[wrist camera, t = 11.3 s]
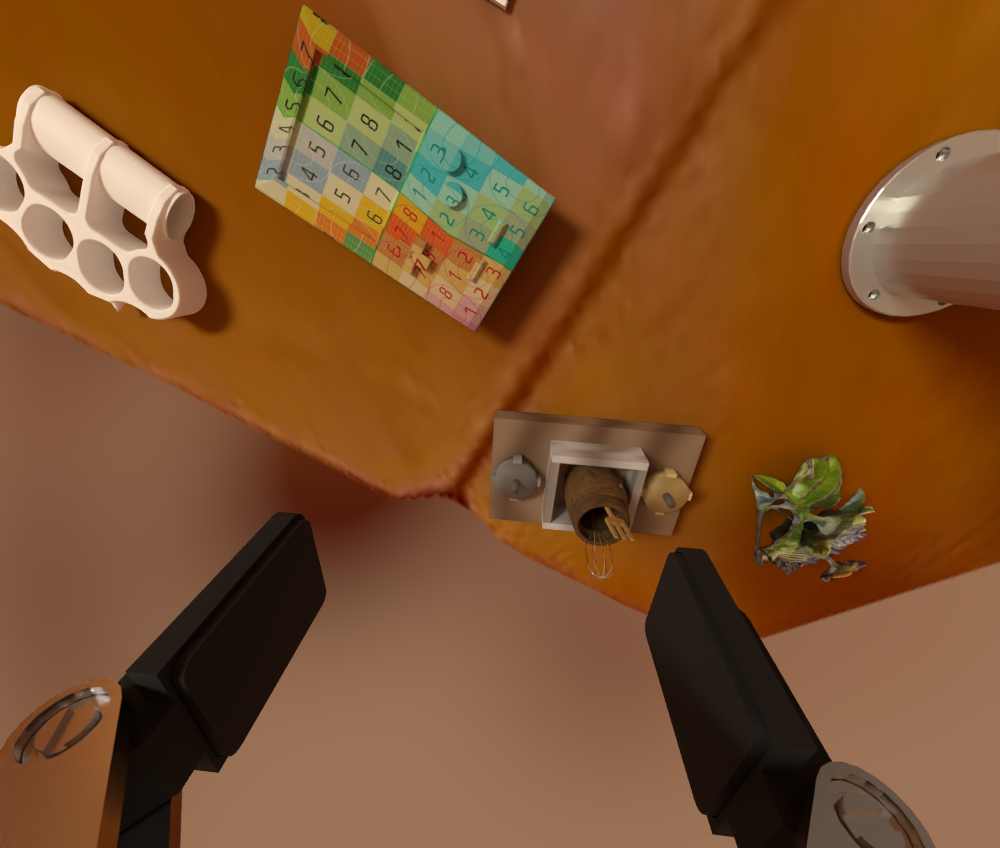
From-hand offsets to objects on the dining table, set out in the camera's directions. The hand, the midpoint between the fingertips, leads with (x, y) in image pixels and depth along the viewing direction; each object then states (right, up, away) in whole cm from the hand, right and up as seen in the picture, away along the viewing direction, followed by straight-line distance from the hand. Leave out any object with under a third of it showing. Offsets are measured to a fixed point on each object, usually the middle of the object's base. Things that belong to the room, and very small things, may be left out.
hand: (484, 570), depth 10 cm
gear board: (+10, -1, +31) cm, 33 cm away
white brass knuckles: (-35, +22, +24) cm, 48 cm away
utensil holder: (+10, -2, +30) cm, 32 cm away
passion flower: (+31, -4, +31) cm, 44 cm away
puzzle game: (-7, +23, +21) cm, 32 cm away
